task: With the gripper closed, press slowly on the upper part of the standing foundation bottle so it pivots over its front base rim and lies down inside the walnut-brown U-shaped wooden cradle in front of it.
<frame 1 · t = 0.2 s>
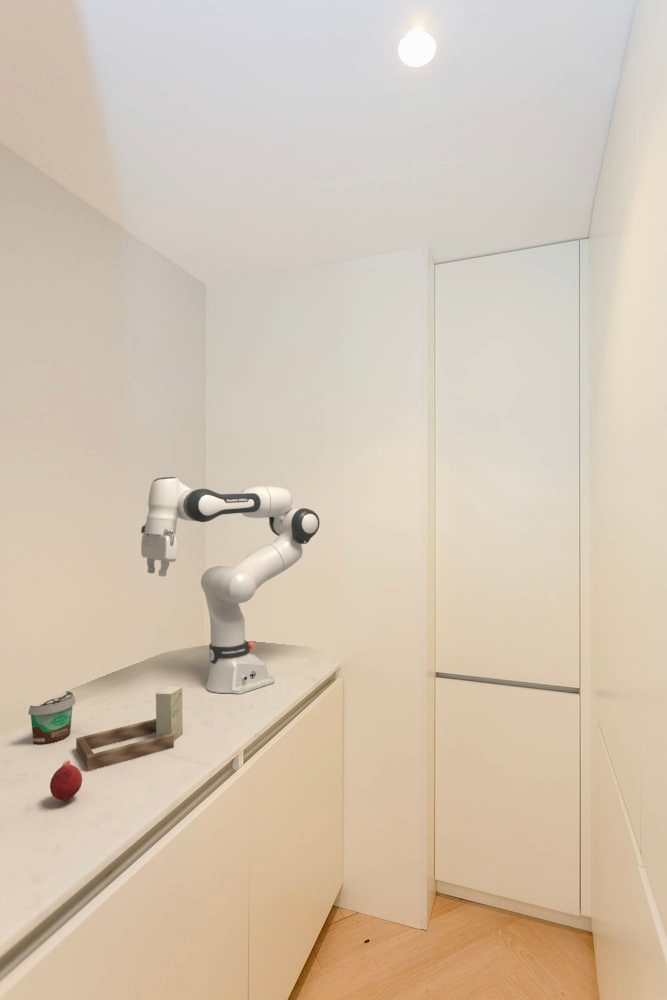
hand: (156, 574, 162), 39 cm above the counter, tool pointing down, fingers open, 8 cm apart
u rest: (125, 749, 131), on the counter
red pomegranate: (66, 802, 108), on the counter
food container: (58, 739, 137), on the counter
skincare box: (169, 738, 137), on the counter
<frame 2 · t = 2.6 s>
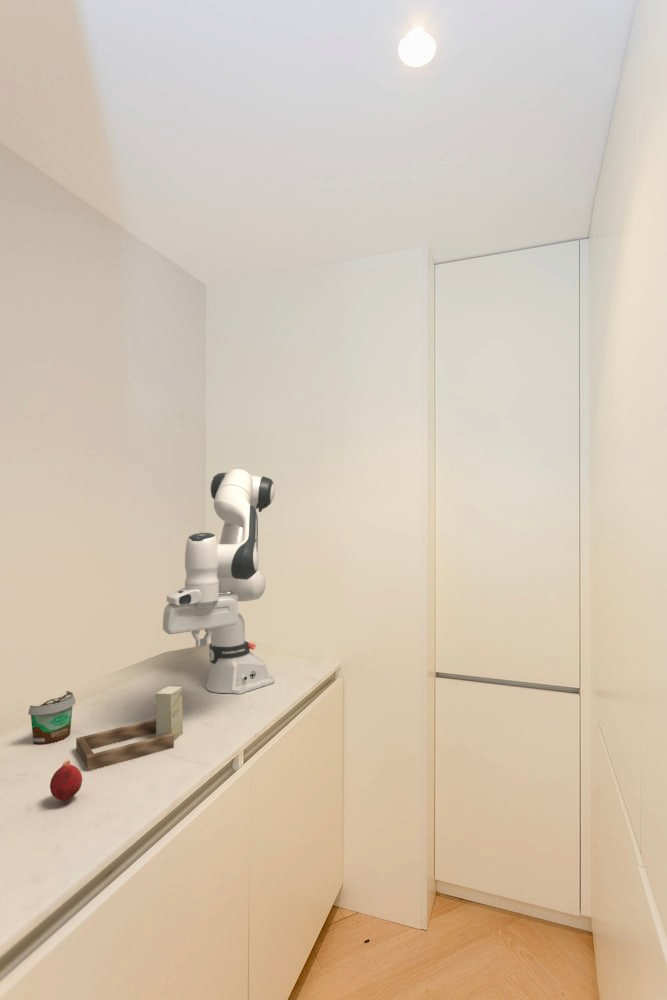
hand: (202, 646, 143), 22 cm above the counter, tool pointing down, fingers closed
nothing on the counter moved.
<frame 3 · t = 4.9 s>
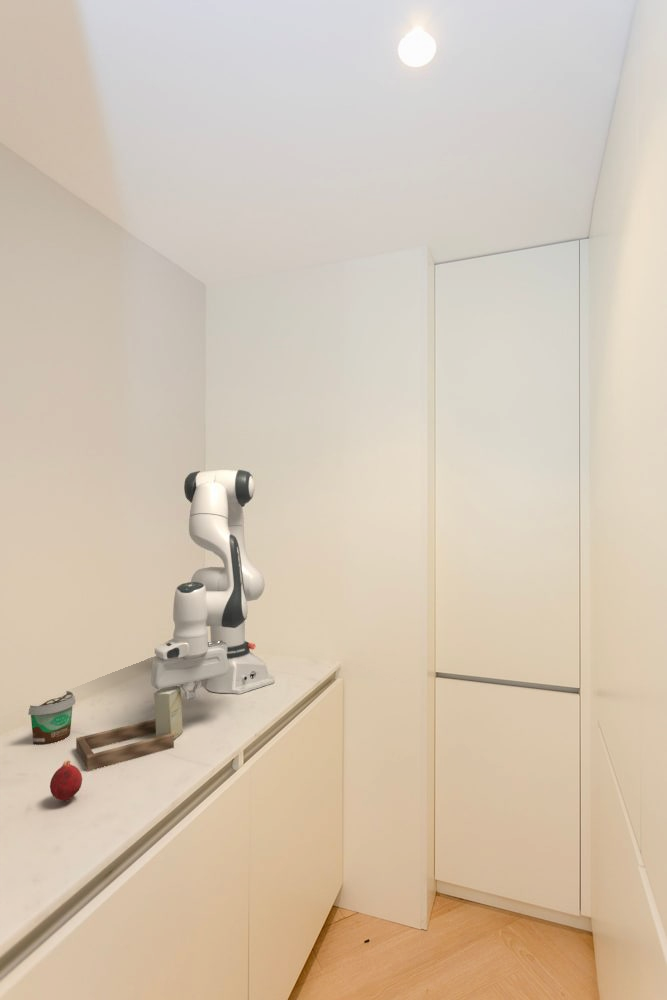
hand: (191, 698, 141), 9 cm above the counter, tool pointing down, fingers closed
skincare box: (169, 737, 137), on the counter, touching gripper
everything else where it was.
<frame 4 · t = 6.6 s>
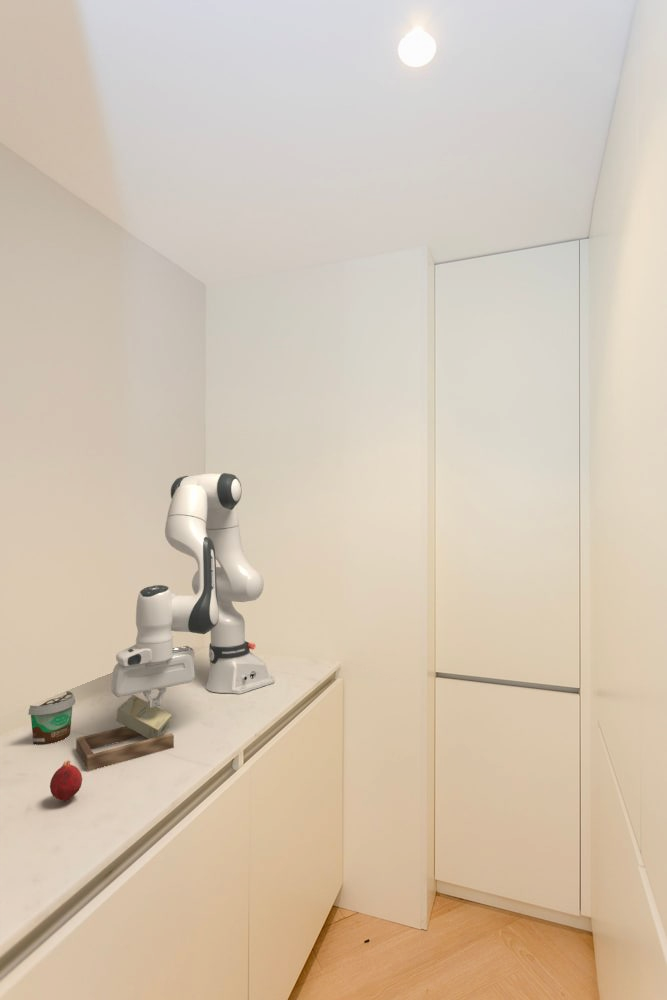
hand: (154, 706, 135), 9 cm above the counter, tool pointing down, fingers closed
skincare box: (164, 728, 136), point 3 cm above the counter, touching u rest
everything else where it was.
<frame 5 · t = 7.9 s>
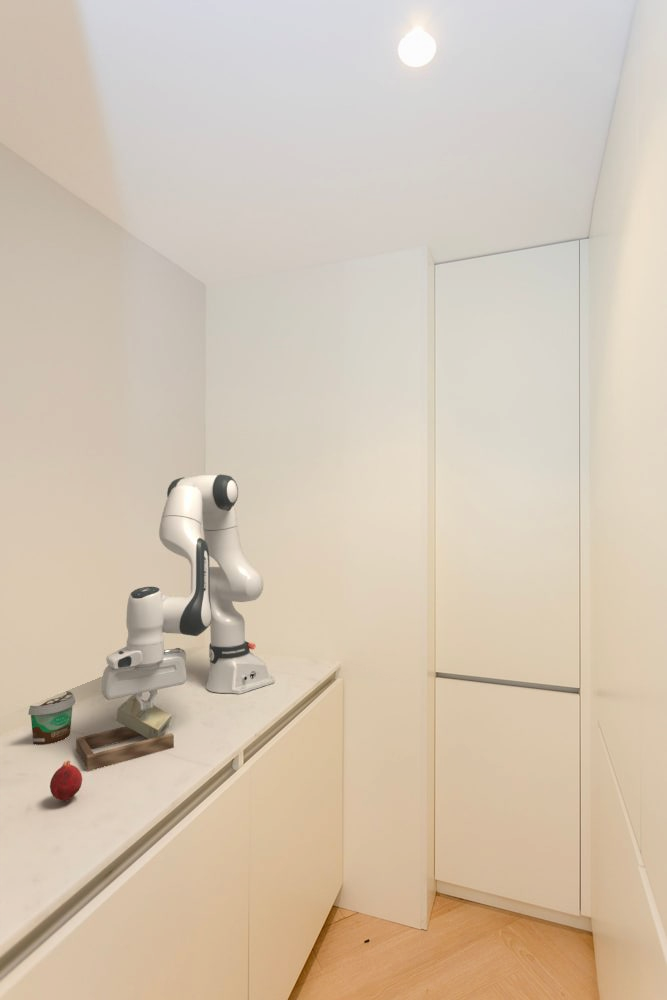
hand: (145, 708, 134), 9 cm above the counter, tool pointing down, fingers closed
nothing on the counter moved.
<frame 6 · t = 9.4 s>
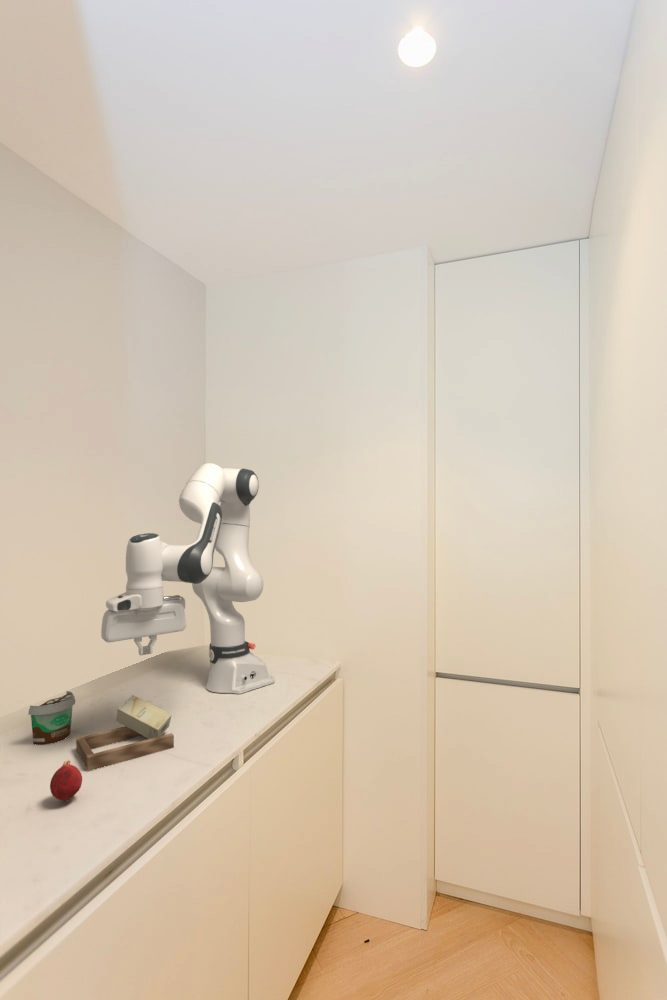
hand: (145, 654, 134), 22 cm above the counter, tool pointing down, fingers closed
nothing on the counter moved.
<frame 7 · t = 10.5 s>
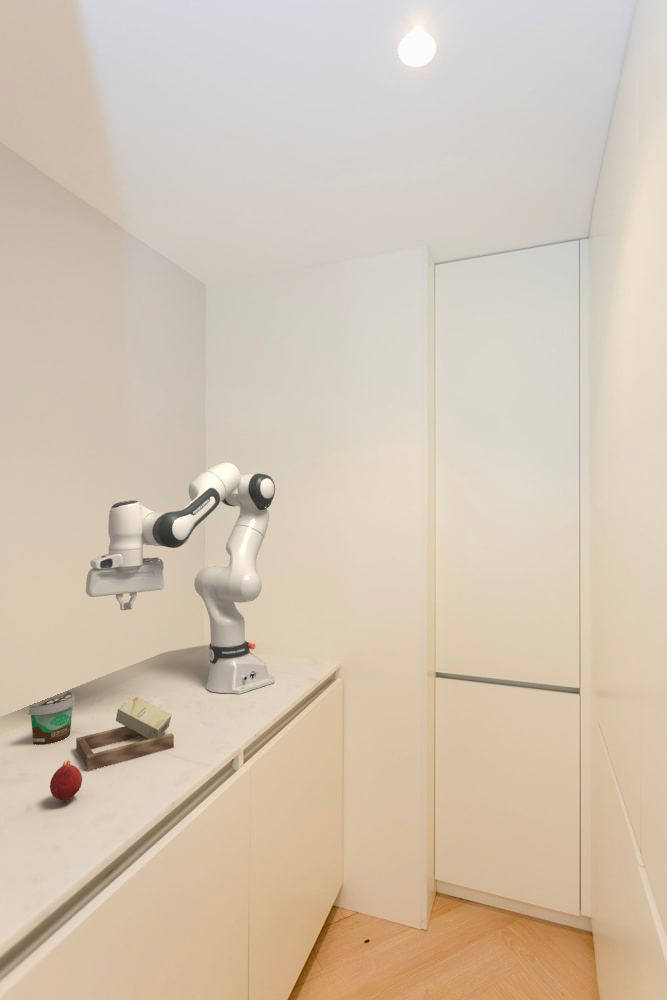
hand: (126, 609, 148), 31 cm above the counter, tool pointing down, fingers closed
nothing on the counter moved.
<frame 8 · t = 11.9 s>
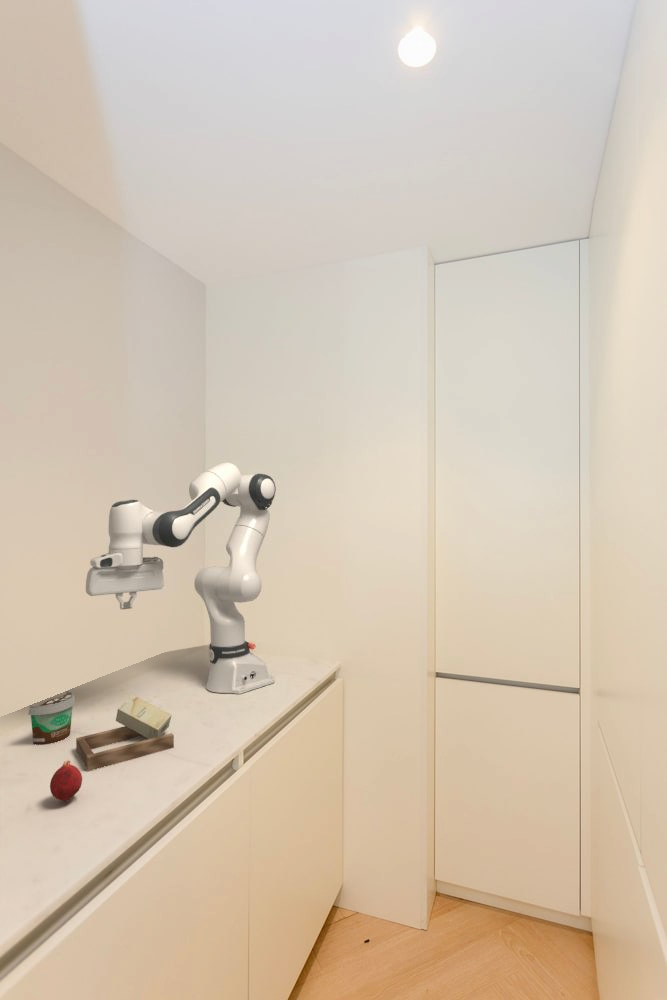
hand: (126, 608, 148), 31 cm above the counter, tool pointing down, fingers closed
nothing on the counter moved.
at the end: skincare box tilted 68°; skincare box inside the target area on the u rest (2.7 cm from its centre), point 2.5 cm above the u rest's base; the gripper is holding nothing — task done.
